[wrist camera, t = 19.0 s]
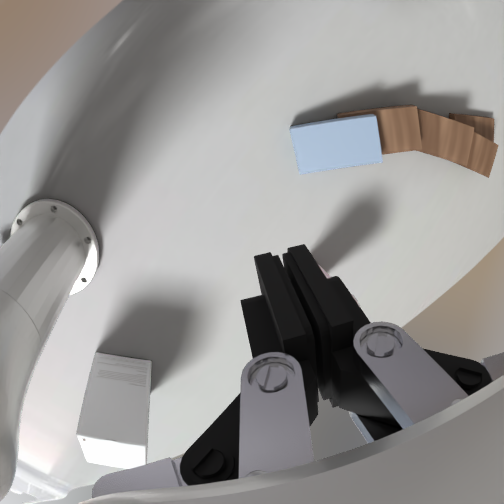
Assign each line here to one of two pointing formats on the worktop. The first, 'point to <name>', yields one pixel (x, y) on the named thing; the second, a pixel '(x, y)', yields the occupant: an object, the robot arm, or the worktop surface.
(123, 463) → the supplement box
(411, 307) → the worktop surface
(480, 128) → the tile
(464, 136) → the tile
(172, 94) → the worktop surface
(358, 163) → the tile
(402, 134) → the tile
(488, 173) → the tile
